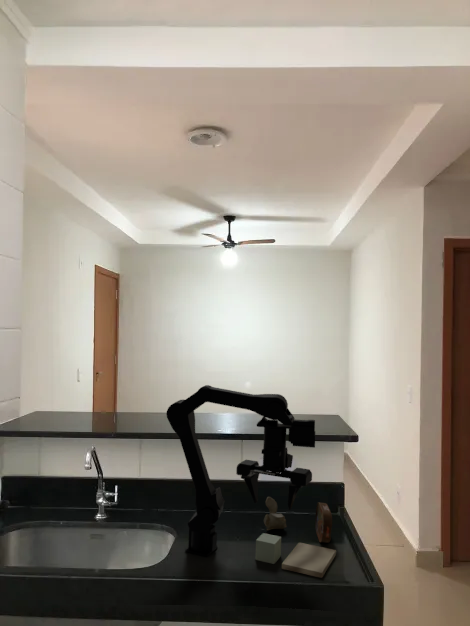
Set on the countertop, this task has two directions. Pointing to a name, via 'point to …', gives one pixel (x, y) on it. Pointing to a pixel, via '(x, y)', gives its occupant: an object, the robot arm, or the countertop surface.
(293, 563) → the maple board
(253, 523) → the countertop surface
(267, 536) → the sage cube
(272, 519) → the beige lumpy figure
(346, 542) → the countertop surface
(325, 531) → the tin
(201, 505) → the robot arm
